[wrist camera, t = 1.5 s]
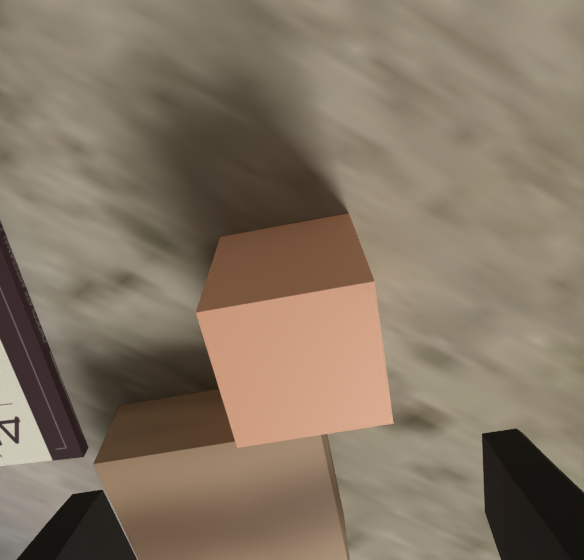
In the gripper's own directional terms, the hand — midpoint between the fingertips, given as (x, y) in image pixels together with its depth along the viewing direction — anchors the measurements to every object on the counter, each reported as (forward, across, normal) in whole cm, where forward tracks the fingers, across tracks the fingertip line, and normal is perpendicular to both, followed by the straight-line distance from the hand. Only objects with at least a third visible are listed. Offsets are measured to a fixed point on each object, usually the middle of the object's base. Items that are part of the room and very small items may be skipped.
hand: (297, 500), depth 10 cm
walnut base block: (+10, +4, +8) cm, 13 cm away
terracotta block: (+10, 0, 0) cm, 10 cm away
